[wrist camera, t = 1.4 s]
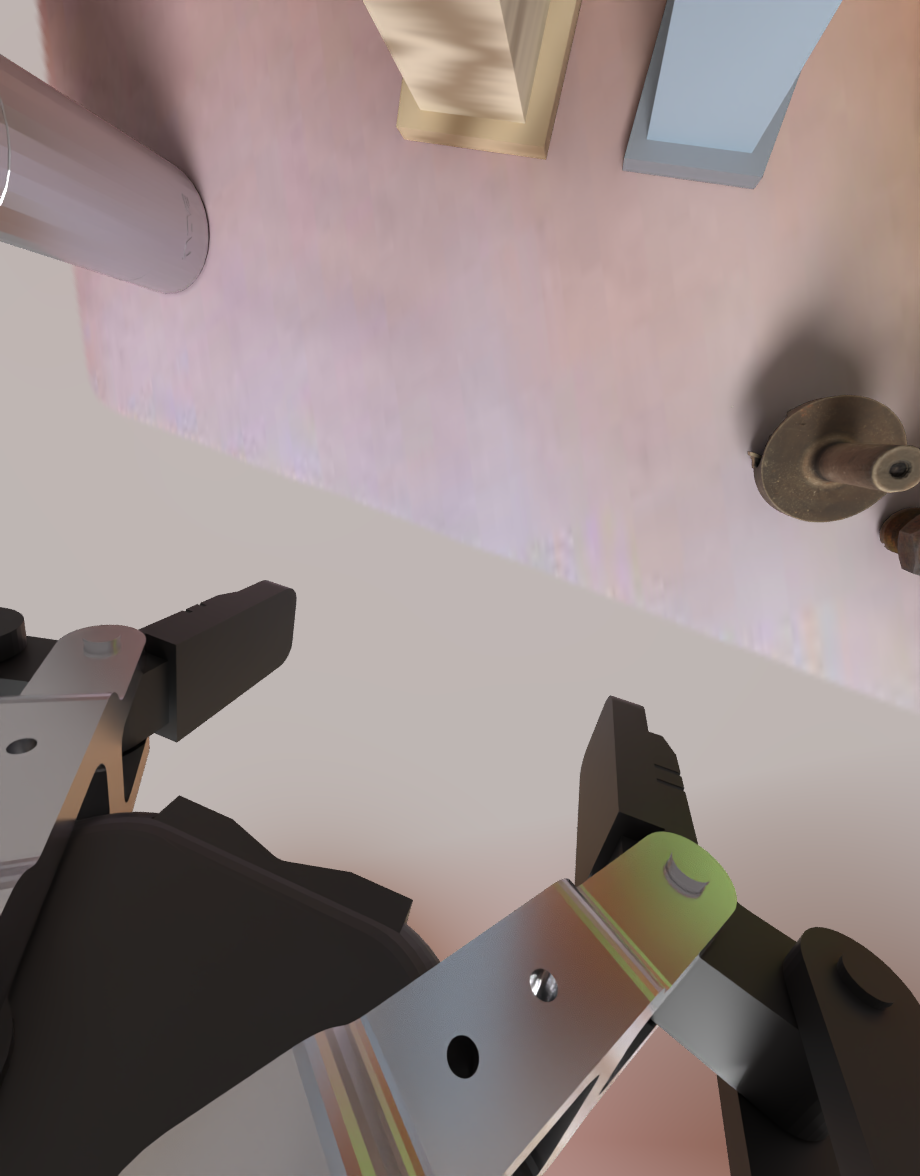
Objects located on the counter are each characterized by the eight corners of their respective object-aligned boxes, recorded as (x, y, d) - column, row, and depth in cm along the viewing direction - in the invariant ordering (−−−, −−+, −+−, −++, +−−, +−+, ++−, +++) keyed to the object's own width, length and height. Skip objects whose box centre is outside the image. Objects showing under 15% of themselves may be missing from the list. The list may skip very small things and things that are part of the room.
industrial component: (888, 427, 31) (1057, 425, 20) (816, 526, 33) (929, 575, 22) (749, 373, 32) (836, 343, 20) (690, 474, 34) (739, 495, 23)
